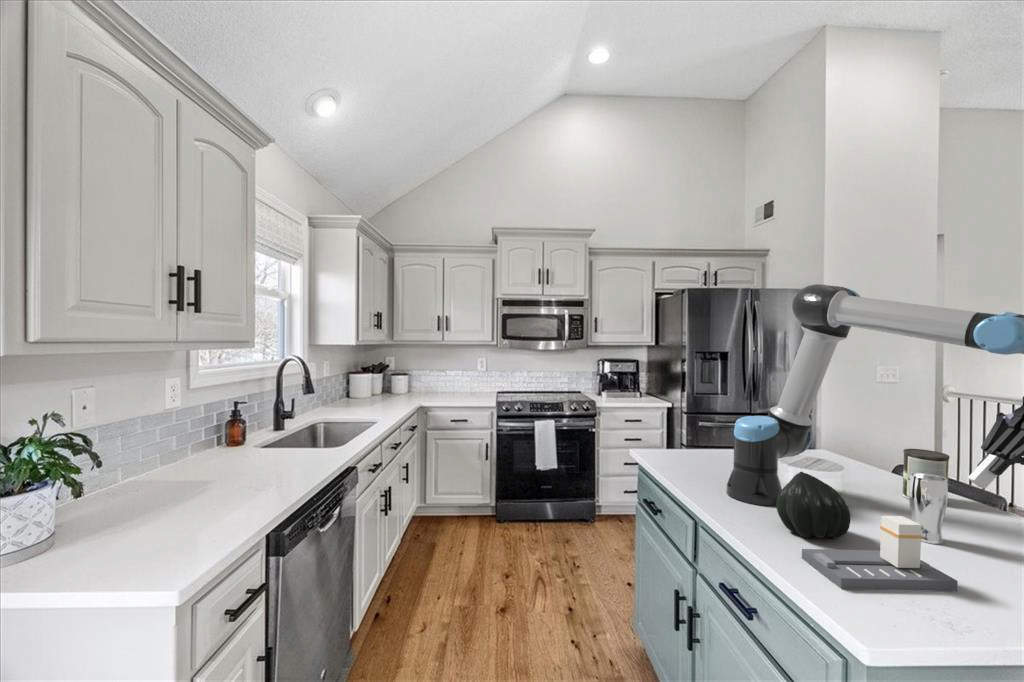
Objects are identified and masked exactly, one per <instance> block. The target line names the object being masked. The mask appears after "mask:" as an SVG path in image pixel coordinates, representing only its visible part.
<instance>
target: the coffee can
mask: <svg viewBox="0 0 1024 682" xmlns="http://www.w3.org/2000/svg"><path fill="white" fill-rule="evenodd" d="M902 451H903V467H902V468H903V469H902V470H903V474H902V476H903V478H902V495H901V496H902V497H903V496H904V498H905V497H906V498H905V499H907V498H908V499H907V500H909V481H910V474H911V473H926V474H932V475H937V476H940V477H943V478H946V479H947V489H948V490H949V467H950V466H949V460H950V457H951V456H950V455H948V454H946V453H945V452H940V451H935V450H931V449H930V450H929V449H922V448H905V449H903V450H902ZM948 504H949V503H948V501H947V505H948Z"/></svg>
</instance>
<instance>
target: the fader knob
mask: <svg viewBox="0 0 1024 682" xmlns="http://www.w3.org/2000/svg"><path fill="white" fill-rule="evenodd" d="M880 521H881V522H880V525H879V529H880V543H879V545H880V547H879V548H880V550H879V551H880V557H881V558H883V559H884V560H886V561H888V562H889V563H891V564H893V565H894V566H896V567H897V568H920V560H921V545H922V543H921V542H922V541H921V539H922V536H921V525H920V524H918V523H916V522H914V521H912V520H911V519H910V518H908V517H905V516H903V515H881V517H880Z"/></svg>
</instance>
